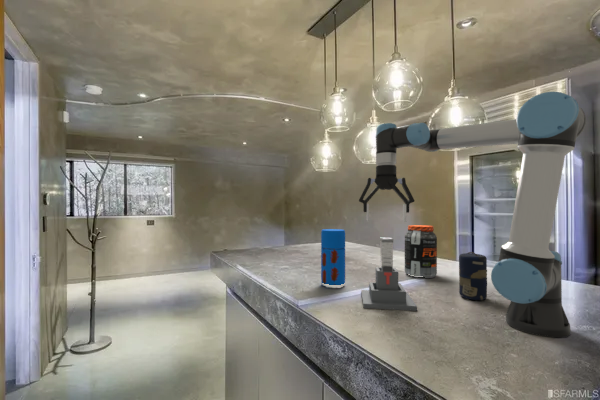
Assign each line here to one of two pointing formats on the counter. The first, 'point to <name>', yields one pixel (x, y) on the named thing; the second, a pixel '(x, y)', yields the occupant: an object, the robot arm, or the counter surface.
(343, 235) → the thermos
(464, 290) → the canister
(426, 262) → the supplement tub
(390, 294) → the base
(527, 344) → the counter surface
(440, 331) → the counter surface
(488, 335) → the counter surface
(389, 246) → the column
